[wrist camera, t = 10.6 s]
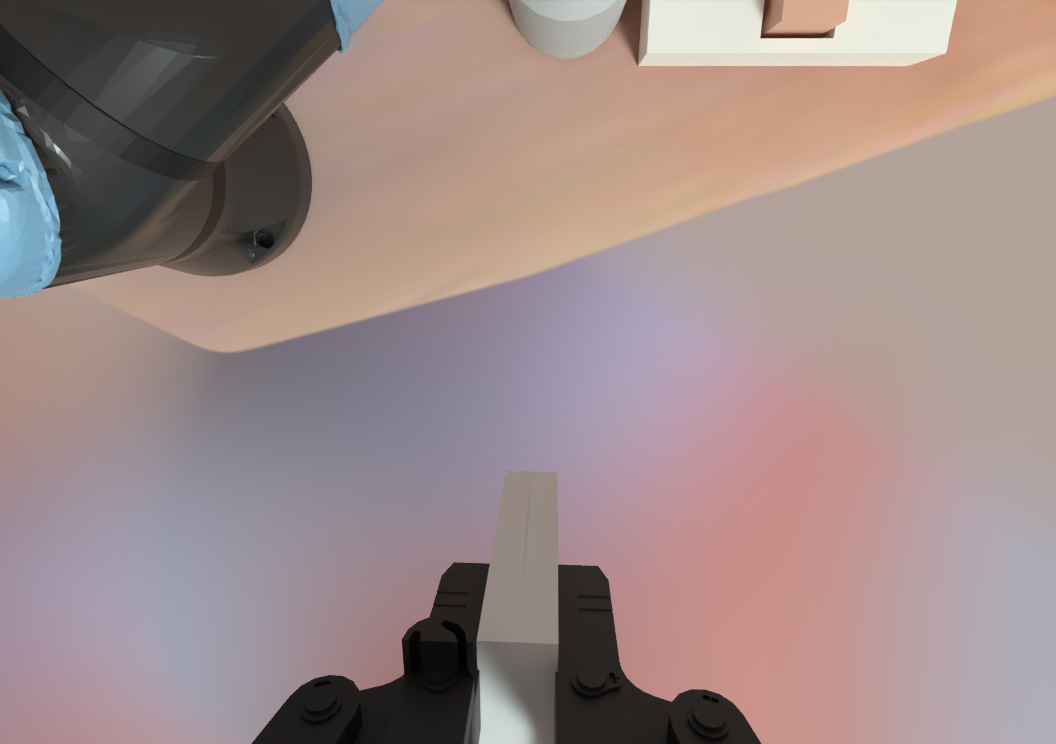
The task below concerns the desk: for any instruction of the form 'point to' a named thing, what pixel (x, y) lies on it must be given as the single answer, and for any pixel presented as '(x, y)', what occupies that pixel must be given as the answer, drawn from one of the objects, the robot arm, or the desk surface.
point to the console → (735, 28)
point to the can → (566, 24)
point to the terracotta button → (801, 17)
